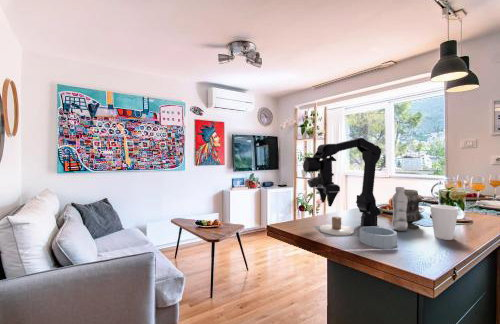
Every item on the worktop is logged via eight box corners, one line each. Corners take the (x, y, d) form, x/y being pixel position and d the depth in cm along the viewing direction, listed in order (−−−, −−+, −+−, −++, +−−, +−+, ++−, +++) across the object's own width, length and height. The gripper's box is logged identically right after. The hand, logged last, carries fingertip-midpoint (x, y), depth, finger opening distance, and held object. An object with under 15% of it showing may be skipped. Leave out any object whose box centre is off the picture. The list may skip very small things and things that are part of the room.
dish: (383, 237, 108) (383, 226, 108) (404, 248, 95) (404, 235, 95) (353, 238, 107) (353, 226, 107) (370, 249, 94) (370, 236, 94)
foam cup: (450, 242, 102) (450, 210, 102) (425, 236, 110) (425, 206, 110) (462, 238, 106) (462, 207, 106) (437, 232, 114) (438, 204, 114)
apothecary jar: (405, 222, 132) (405, 188, 132) (428, 228, 121) (428, 190, 121) (387, 224, 129) (387, 189, 128) (409, 231, 117) (409, 192, 117)
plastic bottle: (405, 229, 120) (406, 186, 120) (409, 233, 114) (409, 188, 114) (390, 228, 123) (390, 186, 122) (393, 231, 116) (393, 188, 116)
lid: (345, 225, 124) (345, 213, 124) (360, 235, 109) (360, 221, 109) (315, 226, 123) (315, 214, 123) (326, 236, 108) (326, 222, 108)
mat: (345, 226, 125) (345, 225, 125) (362, 237, 109) (362, 235, 109) (313, 227, 124) (313, 226, 124) (325, 238, 108) (325, 236, 108)
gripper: (303, 170, 128) (304, 201, 128) (314, 173, 109) (315, 209, 110) (325, 169, 128) (326, 200, 129) (340, 172, 110) (340, 208, 110)
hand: (326, 204), depth 119 cm, fingers open, 9 cm apart
